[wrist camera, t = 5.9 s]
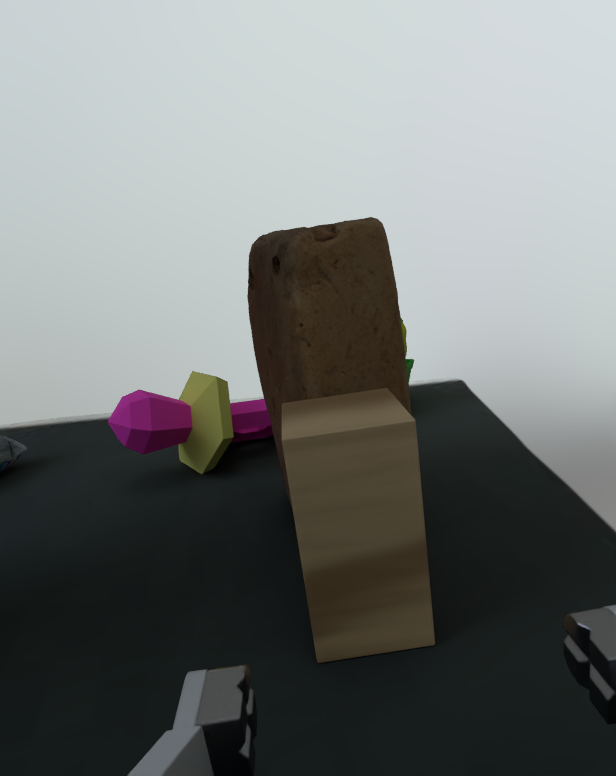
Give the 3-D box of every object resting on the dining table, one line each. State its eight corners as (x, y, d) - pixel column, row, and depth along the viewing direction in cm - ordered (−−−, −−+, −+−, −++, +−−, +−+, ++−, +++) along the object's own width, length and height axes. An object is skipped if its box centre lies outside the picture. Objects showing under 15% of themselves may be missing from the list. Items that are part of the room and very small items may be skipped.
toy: (314, 459, 48) (299, 361, 51) (127, 470, 37) (121, 345, 40) (262, 475, 55) (251, 389, 58) (95, 489, 45) (91, 382, 47)
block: (432, 529, 31) (405, 206, 27) (329, 570, 29) (278, 219, 24) (352, 474, 41) (322, 230, 36) (270, 500, 39) (225, 241, 34)
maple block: (435, 645, 22) (415, 419, 20) (317, 664, 22) (281, 439, 20) (406, 572, 28) (387, 387, 25) (310, 587, 27) (281, 403, 25)
